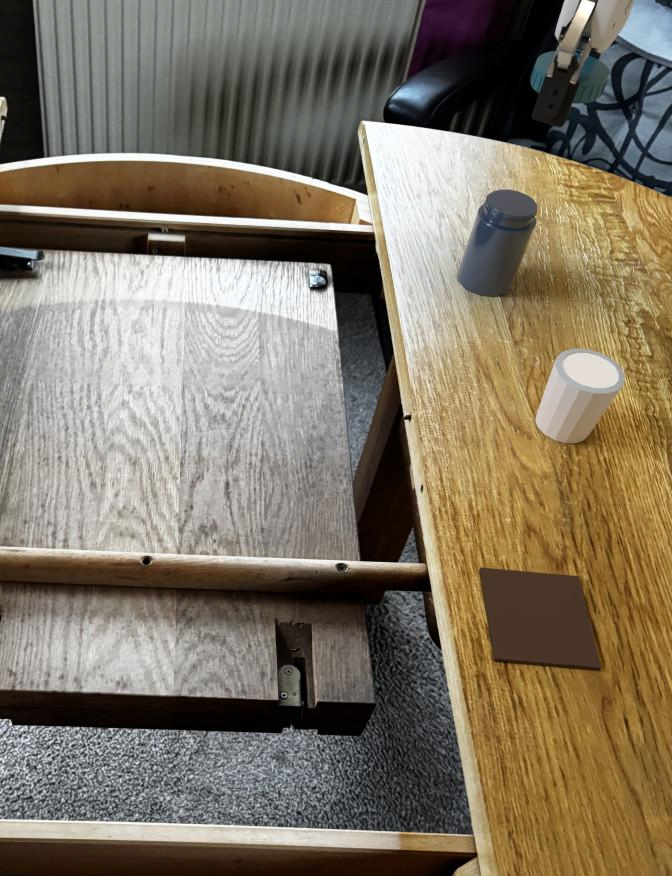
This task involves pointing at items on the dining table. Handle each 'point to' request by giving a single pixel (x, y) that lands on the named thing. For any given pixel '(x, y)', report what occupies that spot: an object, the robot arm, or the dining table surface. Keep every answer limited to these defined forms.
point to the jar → (497, 242)
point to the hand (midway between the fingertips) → (558, 106)
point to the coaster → (538, 619)
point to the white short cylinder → (578, 394)
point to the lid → (590, 78)
